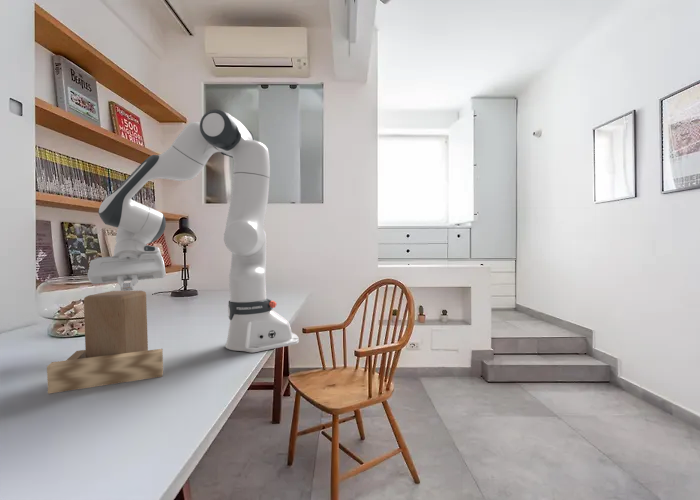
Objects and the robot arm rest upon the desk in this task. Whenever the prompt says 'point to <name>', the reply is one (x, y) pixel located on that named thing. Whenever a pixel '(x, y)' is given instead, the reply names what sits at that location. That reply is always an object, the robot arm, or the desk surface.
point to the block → (115, 323)
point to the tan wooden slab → (103, 370)
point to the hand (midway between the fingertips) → (126, 289)
